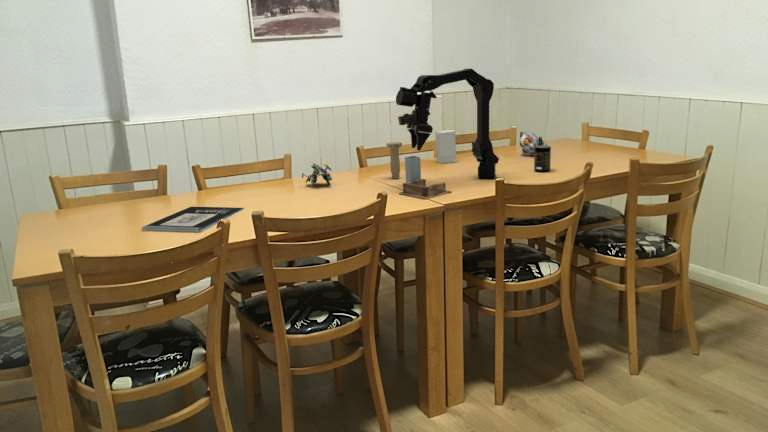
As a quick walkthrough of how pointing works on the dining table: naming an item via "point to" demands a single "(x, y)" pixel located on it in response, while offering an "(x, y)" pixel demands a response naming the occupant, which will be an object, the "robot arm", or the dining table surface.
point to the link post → (412, 168)
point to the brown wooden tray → (423, 189)
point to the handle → (395, 159)
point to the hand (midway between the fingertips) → (415, 149)
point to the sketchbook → (192, 219)
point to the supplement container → (542, 158)
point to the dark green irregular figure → (319, 171)
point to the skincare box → (445, 146)
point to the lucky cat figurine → (530, 142)
